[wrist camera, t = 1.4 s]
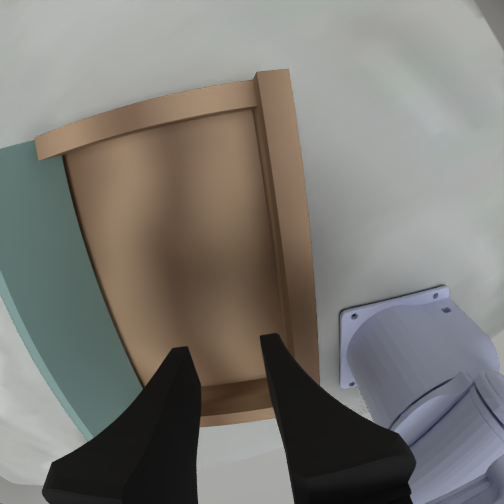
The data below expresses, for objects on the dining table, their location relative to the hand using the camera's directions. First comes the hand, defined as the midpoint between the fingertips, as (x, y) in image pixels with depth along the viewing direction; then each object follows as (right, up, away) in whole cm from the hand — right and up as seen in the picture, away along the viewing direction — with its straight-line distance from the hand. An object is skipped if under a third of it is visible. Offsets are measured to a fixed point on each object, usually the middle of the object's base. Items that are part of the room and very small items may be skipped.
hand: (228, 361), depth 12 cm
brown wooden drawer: (-3, +3, +9) cm, 10 cm away
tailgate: (-9, +1, +7) cm, 12 cm away
